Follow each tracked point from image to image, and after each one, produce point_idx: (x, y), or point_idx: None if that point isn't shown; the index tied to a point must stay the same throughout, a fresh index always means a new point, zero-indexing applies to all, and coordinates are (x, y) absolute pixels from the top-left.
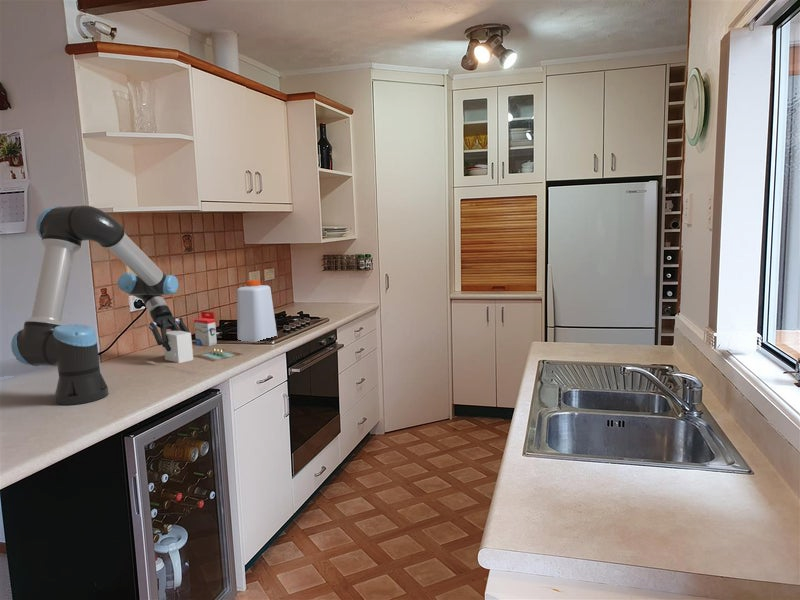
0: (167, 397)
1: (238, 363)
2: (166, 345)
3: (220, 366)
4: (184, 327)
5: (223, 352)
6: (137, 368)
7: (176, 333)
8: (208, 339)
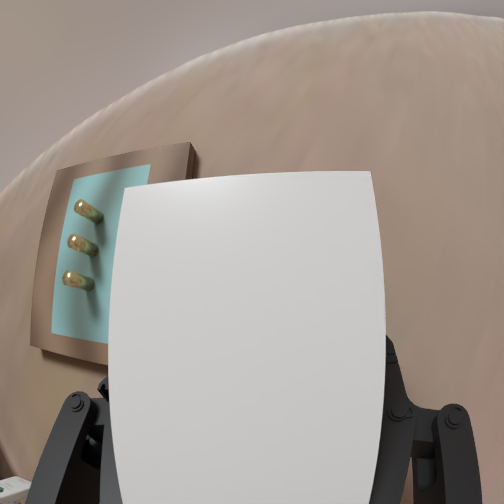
0: (446, 14)
1: (143, 100)
2: (398, 373)
3: (205, 101)
4: (46, 501)
5: (55, 279)
6: (474, 417)
7: (277, 361)
8: (21, 493)
